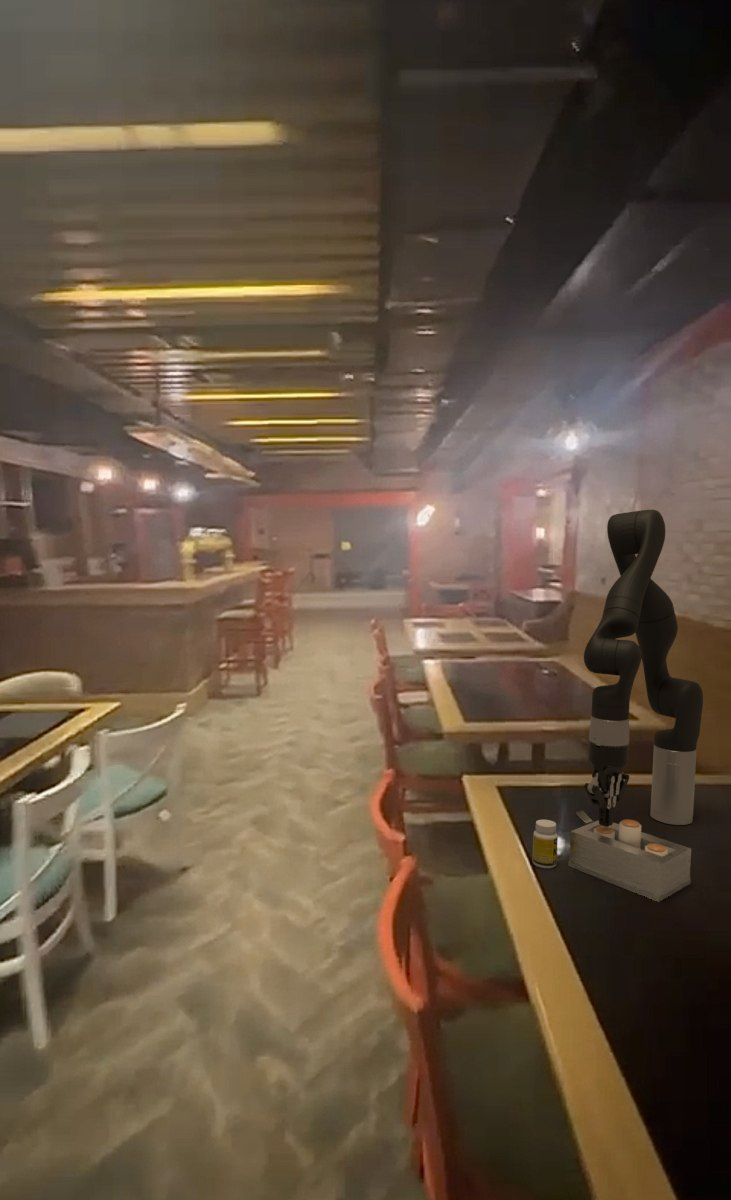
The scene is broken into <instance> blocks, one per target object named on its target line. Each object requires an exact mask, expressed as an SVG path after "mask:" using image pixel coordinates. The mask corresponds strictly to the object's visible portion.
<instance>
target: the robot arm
mask: <svg viewBox="0 0 731 1200" xmlns="http://www.w3.org/2000/svg"><path fill="white" fill-rule="evenodd" d="M606 528H607V529H606V531H607V539H608V543H609V547H610V550H611V552H612V553H611V554H612V555H613V558H614V562H615V564H616V566H617V569H618V574H619V577H618V578H617V580H615V582H614V583H613V585H612V586H611V588H610V589H609V591H608V593H607V595H606V599H605V603H604V607H603V611H602V616H601V619H600V621H599V623H598V625H597V627H596V629H595V631H594V633H593V634H592V635H591V637H590V639H589V640H588V642H587V643H586V646H585V649H584V652H583V662H584V665H585V667H586V669H587V670H588V671H589V672H590V673H594V674H597V675H598V674H600V675H609V676H610V675H612V676H617V677H619V679H618V681H617V683H614V684H605V685H599V686H596V687H594V688H593V691H592V695H591V716H590V722H589V723H590V724H589V732H588V733H589V737H588V739H589V740H588V756H587V757H588V758H587V759H588V761H589V763H591V764H592V765H593V770H592V773H591V777H592V780H591V781H590V783H589V782H585V784H584V785H583V786H584V790H585V792H586V794H587V795H588V798H589V800H590V802H591V804H592V805H594V806H598V808H599V809H598V820H599V824H600V825H603V826H606V827H608V826H610V825H612V824H613V823H614V820H613V819H614V808H615V807H616V804H617V803H620V802H621V800H622V798H623V795H624V793H625V790H626V789H627V788H626V787H627V785H628V782H629V780H630V775H629V774H626V773H624V772H623V771H624V767H626V766H628V764H629V756H630V755H629V753H630V736H631V735H630V733H631V731H630V730H631V729H630V701H631V694H632V690H633V685H634V681H635V679H636V676H637V673H638V671H639V669H640V666H641V663H642V666H643V667H642V668H643V673H644V681H645V690H646V694H647V699H648V704H649V706H650V708H651V710H652V712H654V713H655V714H658V715H660V716H665V717H668V718H674V719H675V722H674V725H673V728H669V729H663V730H658V731H656V732H655V734H654V737H653V755H652V756H653V757H652V758H653V759H652V776H651V780H652V781H651V793H650V794H651V796H650V817H651V818H652V819H654V820H655V821H658V822H660V823H664V824H668V825H674V826H685V825H689V824H692V823H693V817H694V807H695V806H694V802H695V788H696V785H695V784H696V780H695V779H696V765H697V762H696V761H697V745H698V740H699V737H700V733H701V724H702V723H701V722H702V715H703V714H702V713H703V707H704V706H703V705H704V694H703V690H702V689H703V688H702V687H701V685H700V684H699V683H698V682H696V681H693V680H689V679H682V678H678V677H672V676H671V675H670V672H669V669H668V664H667V663H668V662H667V657H668V654H669V652H670V650H671V648H672V646H673V644H674V642H675V639H676V638H677V635H678V631H679V627H678V626H679V624H678V621H677V616H676V612H675V607H674V604H673V601H672V599H671V598H670V596H669V595H668V594H667V593H666V592H665V590H663V588H661V587H660V586H659V584H657V583H656V582H655V581H654V580H653V579H652V576H653V574H654V571H655V569H656V566H657V563H658V560H659V558H660V556H661V553H662V551H663V547H664V543H665V540H666V525H665V520H664V517H663V516H662V514H661V512H659V511H658V510H657V509H643V510H641V509H640V510H635V511H627V512H620V513H615V514H612V515H611V516H610V517H609V519H608V520H607V526H606ZM634 634H635V637H636V640H637V642H635V641H634V640H630V639H629V640H628V639H622V638H627V637H630V636H633V635H634ZM637 643H638V644H637ZM641 661H642V662H641Z"/></svg>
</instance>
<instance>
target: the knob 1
mask: <svg viewBox="0 0 731 1200" xmlns="http://www.w3.org/2000/svg"><path fill="white" fill-rule="evenodd" d="M594 833H596V834H599V835H602V836H605V837H608V838H611V839H614V840H615V831H614V830H613V829H612V828H610V827H606V826H597V827H596V828H594Z"/></svg>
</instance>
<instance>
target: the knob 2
mask: <svg viewBox="0 0 731 1200" xmlns="http://www.w3.org/2000/svg"><path fill="white" fill-rule="evenodd" d="M618 824H619V842H622V843H625V844H628V845H631V846H633V847H636V848H639V849H640V844H641V832H642V824H640V822H638V821H637V820H635V819H622V820H621V821H620V822H618Z"/></svg>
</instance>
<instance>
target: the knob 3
mask: <svg viewBox="0 0 731 1200" xmlns="http://www.w3.org/2000/svg"><path fill="white" fill-rule="evenodd" d="M645 851H648V852H650V853H653V854H656V855H659V856H662V857H663V856H665V855H667V854H668V850H667V849H666V848H665V847H664V846H663V845H660V844H655V843H651V844H648V845H646V846H645Z"/></svg>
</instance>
